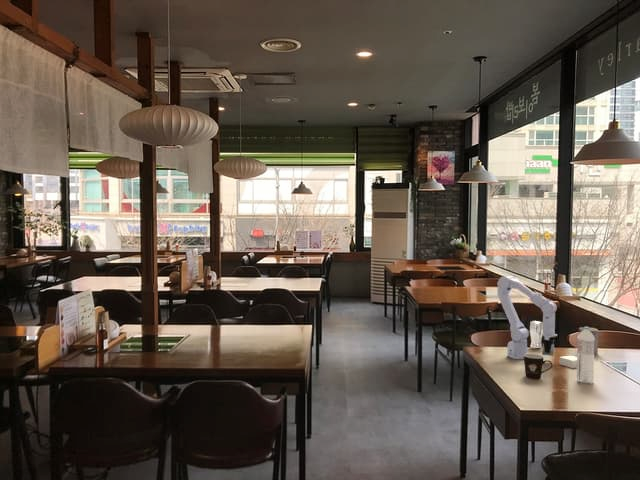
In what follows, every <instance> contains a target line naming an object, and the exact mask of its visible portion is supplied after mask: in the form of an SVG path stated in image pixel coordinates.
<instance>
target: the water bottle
mask: <svg viewBox="0 0 640 480" xmlns="http://www.w3.org/2000/svg"><path fill="white" fill-rule="evenodd" d="M589 328H590V326H589V327H588V326H584V330H583V331H582V332H580V333H579V332H578V335H577V352H576V353H577V355H576V357H577V368H576V382H578V383H580V384H585V385H591V384H594V378H595V377H594V376H595V374H594V373H595V355H594V340H595V337H594V335H593V334H592V333H591V332H590V331H588V329H589Z"/></svg>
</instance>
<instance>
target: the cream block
mask: <svg viewBox="0 0 640 480" xmlns="http://www.w3.org/2000/svg"><path fill="white" fill-rule="evenodd" d="M558 359H559V363H558V364H559V365H560V366H563V367H568V368H571V369H577V356H574V355H563V356H559V357H558Z"/></svg>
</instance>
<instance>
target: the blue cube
mask: <svg viewBox="0 0 640 480" xmlns="http://www.w3.org/2000/svg"><path fill="white" fill-rule="evenodd" d="M541 346H542V348H541V350H542V351H541V356H548V357H549V356H550V357H553V356H554V355H555V344H554V343H553V344H552V345H551V350H550V353H546V352H545V349H544V344H543V343H542V344H541Z"/></svg>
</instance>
